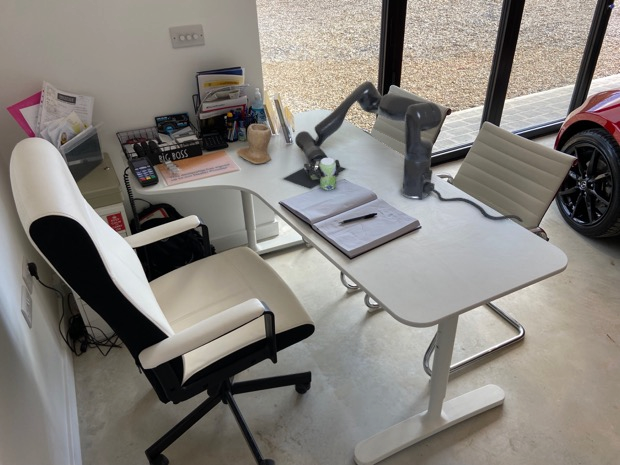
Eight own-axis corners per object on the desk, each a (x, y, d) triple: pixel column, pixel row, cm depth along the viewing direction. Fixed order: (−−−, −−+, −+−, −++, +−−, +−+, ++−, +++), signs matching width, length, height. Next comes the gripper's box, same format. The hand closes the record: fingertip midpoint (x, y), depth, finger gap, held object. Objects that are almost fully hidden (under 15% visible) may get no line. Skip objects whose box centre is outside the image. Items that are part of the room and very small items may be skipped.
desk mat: (345, 169, 201) (345, 168, 201) (310, 188, 187) (310, 187, 187) (319, 161, 209) (318, 159, 208) (283, 179, 195) (283, 178, 194)
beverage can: (336, 184, 189) (336, 155, 183) (335, 193, 183) (336, 163, 177) (320, 184, 190) (320, 154, 183) (318, 192, 184) (318, 163, 177)
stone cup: (278, 160, 210) (275, 126, 203) (254, 168, 205) (250, 133, 197) (259, 150, 221) (256, 117, 213) (236, 157, 215) (232, 123, 207)
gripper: (334, 164, 198) (347, 182, 184) (299, 169, 195) (309, 187, 182) (334, 147, 194) (347, 163, 180) (298, 151, 192) (309, 168, 178)
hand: (328, 175), depth 181 cm, fingers closed on beverage can, 5 cm apart
